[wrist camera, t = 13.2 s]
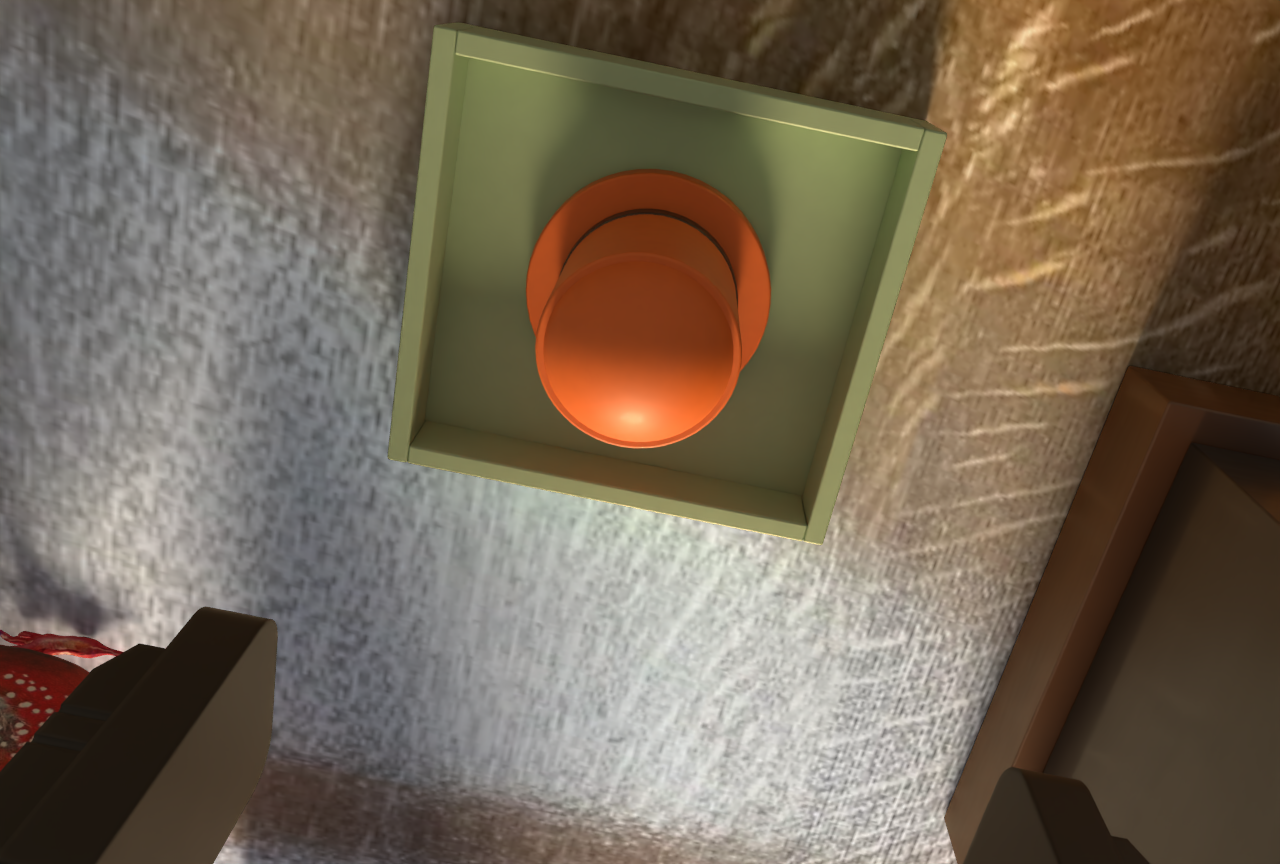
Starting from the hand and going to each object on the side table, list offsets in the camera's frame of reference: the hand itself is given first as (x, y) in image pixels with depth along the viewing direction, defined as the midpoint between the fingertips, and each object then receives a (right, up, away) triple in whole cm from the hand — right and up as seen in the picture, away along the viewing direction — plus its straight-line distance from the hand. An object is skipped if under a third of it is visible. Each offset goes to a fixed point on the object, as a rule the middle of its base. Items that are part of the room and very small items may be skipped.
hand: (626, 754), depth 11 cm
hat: (0, +8, +19) cm, 20 cm away
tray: (0, +8, +19) cm, 21 cm away
